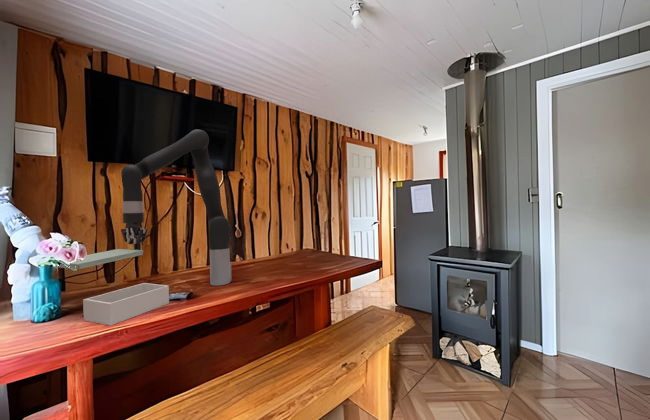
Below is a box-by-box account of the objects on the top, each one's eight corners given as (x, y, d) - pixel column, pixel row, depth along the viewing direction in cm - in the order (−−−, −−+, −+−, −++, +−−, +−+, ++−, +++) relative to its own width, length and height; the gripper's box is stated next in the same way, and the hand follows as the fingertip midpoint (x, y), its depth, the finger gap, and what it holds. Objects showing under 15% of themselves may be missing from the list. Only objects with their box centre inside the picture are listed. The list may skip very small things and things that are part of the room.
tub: (144, 299, 113) (143, 282, 113) (169, 303, 108) (168, 285, 108) (83, 320, 93) (83, 299, 93) (110, 325, 88) (109, 303, 88)
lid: (127, 251, 123) (127, 242, 123) (152, 252, 118) (151, 243, 118) (51, 266, 99) (50, 255, 98) (78, 269, 93) (77, 257, 93)
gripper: (153, 211, 119) (154, 251, 119) (131, 212, 124) (132, 250, 124) (135, 212, 112) (137, 254, 112) (113, 212, 117) (114, 252, 117)
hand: (134, 251), depth 118 cm, fingers closed on lid, 3 cm apart
